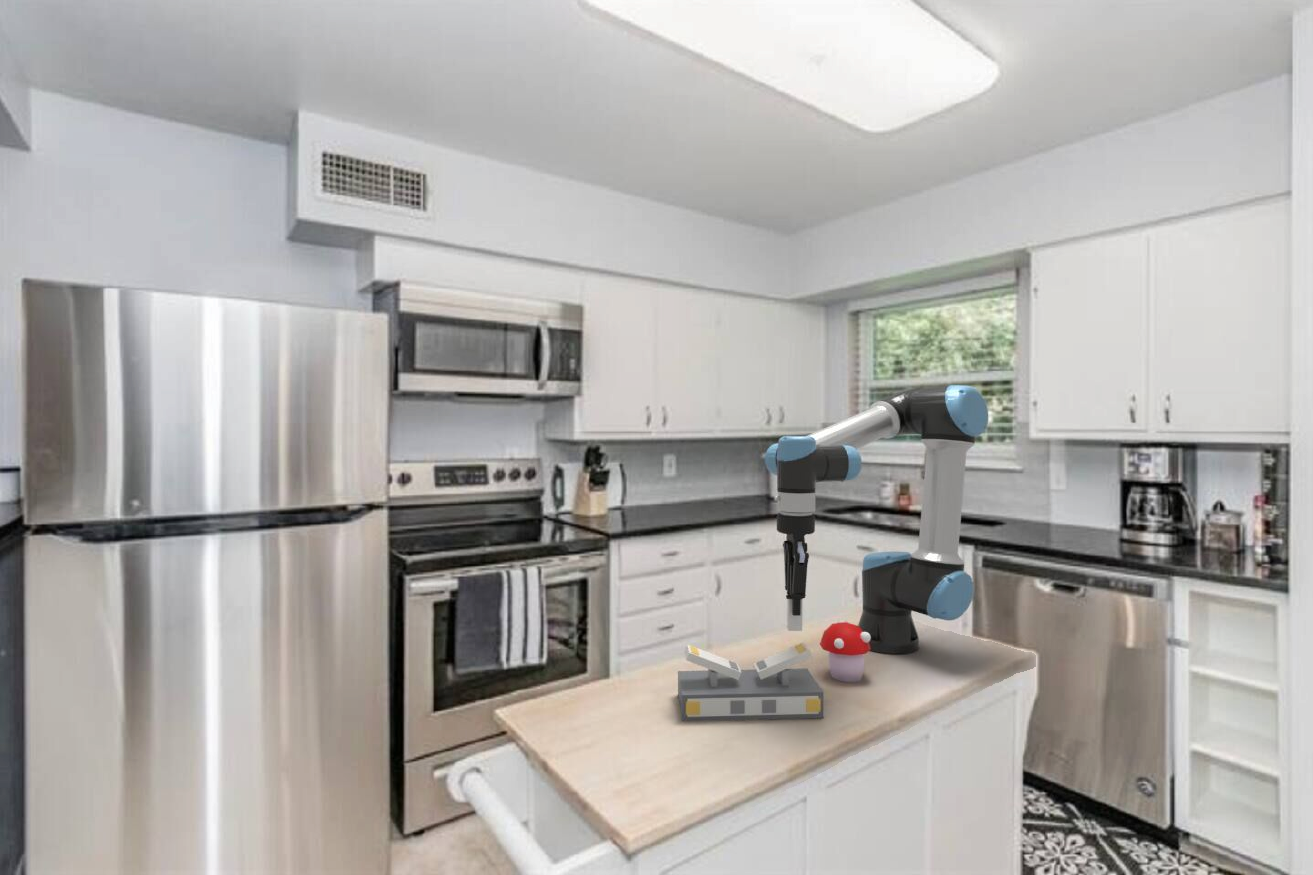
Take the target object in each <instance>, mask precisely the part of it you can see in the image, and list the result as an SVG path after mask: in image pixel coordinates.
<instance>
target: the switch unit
mask: <svg viewBox="0 0 1313 875" xmlns="http://www.w3.org/2000/svg"><path fill="white" fill-rule="evenodd" d="M740 670H741V672H742V673H741V675H740V678H739V680H737V679H734V678H731V677H729V676H726V675H724V674H721V673H718V672H716V671H713V670H710V669H708V668H707V670H678V671H677V696H678V703H679V710H680V716H681V721H682V722H707V721H710V722H711V721H712V722H713V721H746V720H748V721H750V720H754V721H755V720H791V719H793V720H794V719H795V720H796V719H799V720H800V719H824V714H825V713H824V711H825V710H824V709H825V708H824V698H825V697H824V691H823V689H822V688H821V686H820V685H819V684H818V681H817V680H816V679H815V677H814V676H813V675H812V673H811V672H810V670H809V669H808V668H805V667H804V668H787V669H785V670H783V671H780V672H778V673H776V674H773V675H771V676H768V677H766V678H764V679H760V677H759V675H758V673H757V670H756V668H754V669H740Z"/></svg>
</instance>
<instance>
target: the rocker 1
mask: <svg viewBox="0 0 1313 875" xmlns="http://www.w3.org/2000/svg"><path fill="white" fill-rule="evenodd" d="M684 656H685V657H684V658H685V660H686V661H688V662H690V663H692V664H695V665H697V666H700V667H703V668H705V669H707V670H708V669H710V670H713V671H716V672H718V673H721V674H724V675H726V676H729V677H731V678H734V679H737V680H739V678H740V675H741V673H742V672H741V670H742V669H741V667H740V666H739V663H738V662H735V661H732V660H729V659H727V658H724V657H722V656H719V655H717V654H714V653H712V652H708V651H706V650H704V649H701V648H698V647H695V646H693V645H691V644H686V647H685V649H684Z"/></svg>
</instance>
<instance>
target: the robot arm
mask: <svg viewBox="0 0 1313 875" xmlns="http://www.w3.org/2000/svg"><path fill="white" fill-rule="evenodd" d="M988 423H989V409H988V405H987V402H986V399H985V398H984V397H983V395H982V393H981V392H980V391H979V390H978V389H977V388H975V387H973V386H970V385H961V384H960V385H958V384H955V385H954V384H951V385H941V386H939V385H938V386H926V387H925V386H924V387H923V386H922V387H921V386H920V387H919V386H918V387H913V388H907V389H905V390H901V391H899V392H897V393H894V394H892V395H889V396H888V397H885V398H882V399H879V400H878V401H875V402H874V403H872V404H871V405H870V407H869V408H868V409H867V410H865V411H862V412H860V413H858V414H855V415H853V416H851V417H849V418H846V419H843V420H841V421H839V422H837V423H833V424H832V425H829V426H826V427H825V428H822V429H819V430H817V431H815V432H813V433H810V434H808V435H804V436H803V435H800V436H790V435H787V436H782V437H780V438H779V439H778V442H777V443H773V444H772V445H770V446H769V447H768V448H767V450H766V452H765V456H764V463H765V466H766V467H765V468H766V469H767V470H768V472H769V473H771V474H772V475H774V476H776V479H777V480H776V482H777V483H776V485H777V486H776V491H777V493H776V494H777V495H776V496H775V495H774V498H773V499H774V501H775V502H776V504H777V505H776V510H777V511H778V513H777V514H776V531H777V532H778V533H780V534H784V535H786V538H785V539H786V540H784V541H783V543H782V547H783V556H784V557H783V558H784V560H783V562H784V590H785V591H786V595H785V598H786V600H787V603H786V604H787V607H786V610H787V612H786V613H787V616H786V617H787V619H786V621H787V624H786V626H787V627H786V629H787V631H788V632H803V599H806V597H807V596H806V590H807V588H806V587H807V577H808V576H807V575H808V564H809V558H810V553H809V552H808V543H807V542H806V538H805V536H807V535H812V534H814V533H815V531H816V516H815V515H814V514H813V513H815V512H816V483H823V482H825V483H826V482H827V483H828V482H829V483H830V482H841V483H843V482H845V481H852V480H854V479H856V478H857V476H859V475H860V473H861V471H862V457H861V454H860V452H859V450H858V449H860V448H862V447H864V446H867V445H869V444H871V443H873V442H876V441H877V440H880V439H887V440H888V439H892V438H894V437H897V436H900V435H901V436H902V435H920V442H921V443H922V444H923V445H924V446H925V447H926V456H925V467H924V468H925V469H924V479H923V489H922V502H921V514H920V527H919V538H918V548H917V549H916V550H915V551H914V552H913V553H910V552H908V551H879V552H872V553H867V554H866V555H865V556H864V557H863V559H862V569H861V578H862V579H861V581H862V583H861V585H862V586H861V588H862V612H861V615H860V618H859V621H858V624H857V626H859V628H860V629H861V630H862V631H863V632H868V633H869V634H870V636H871V639H870V641H869V644H870V648H871V650H870V651H872V652H875V653H876V652H877V653H881V654H882V653H883V654H890V655H891V654H892V655H893V654H895V655H897V654H898V655H902V654H910V653H914V652H916V651H918V650H919V648H920V638H919V637H920V636H919V634H918V631H917V629H916V625H915V622H914V619H913V617H912V616H913V615H912V612H914V613H919V614H921V615H925V616H928V617H930V618H932V619H935V620H936V619H937V620H939V619H940V620H944V621H954V620H957V619H959V618H960V617H962V616H963V615H964V614H965V613H966V611H967V610H968V609H969V607H970V605H971V603H972V601H973V598H974V591H975V585H974V582H973V578H972V576H971V575H970V574H968V573H967V572H966V571H964V570H965V561H964V560H963V559H962V558H961V556H959V544H960V543H959V542H960V534H961V533H960V532H961V521H962V511H963V510H962V508H963V498H964V497H963V496H964V488H965V487H964V484H965V474H966V465H967V464H966V460H967V452H968V451H969V450H970V449H971V448H972V447H974V446H975V441H976V437H978V436H980V435H982V434H983V433H984V432H985V430H986V428H987V426H988Z"/></svg>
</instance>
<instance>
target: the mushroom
mask: <svg viewBox="0 0 1313 875" xmlns="http://www.w3.org/2000/svg"><path fill="white" fill-rule="evenodd" d="M870 639H871V636H870V634H869V633H868V632H863V631H862V630H861V629H860V628H859V626H858V624H857V625H856V624H853V623H850V622H848V621H847V620H846V619H844V618H840V619H838V620H837V622H836V623H835V622H834V623H831V624H830V626H828V627H827V628H826V629H824V631H823V633H822V637H821V640H820V642H819V646H820V647H821V649H822V650H823V651H826V652H829V653H828V657H827V659H828V666H829V671H830V676H831V678H833V679H834V680H836V681H839V682H845V683H854V682H855V683H857V682H859V681H861V680H862V679H863V674H864V668H865V663H866V661H865V656H864V655H866V654H867V653H868V652H869V651H871V648H870V644H869V641H870Z"/></svg>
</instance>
